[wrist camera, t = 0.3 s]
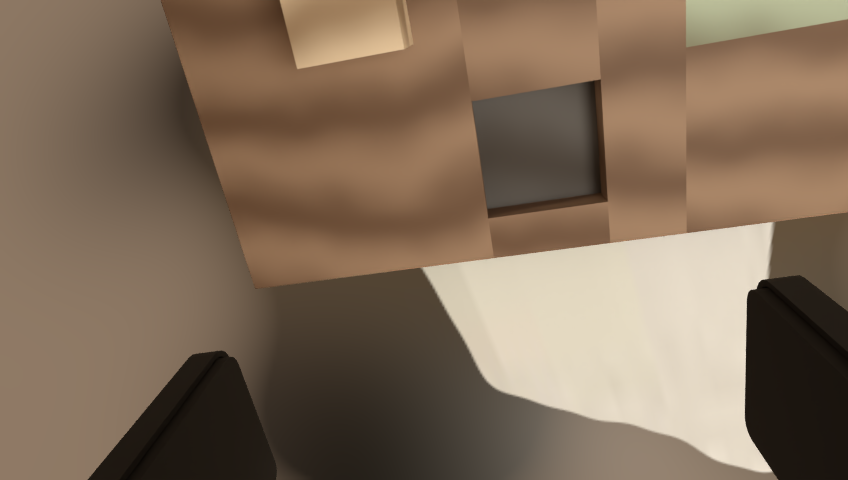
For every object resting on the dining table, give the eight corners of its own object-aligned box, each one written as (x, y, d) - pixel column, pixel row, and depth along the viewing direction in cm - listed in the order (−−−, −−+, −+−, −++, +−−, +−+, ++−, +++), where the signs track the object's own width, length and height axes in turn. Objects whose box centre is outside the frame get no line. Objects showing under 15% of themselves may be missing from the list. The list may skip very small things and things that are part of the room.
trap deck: (160, -63, 35) (138, -68, 33) (1104, -281, 28) (1162, -308, 25) (266, 274, 44) (255, 288, 41) (1005, 176, 36) (1041, 186, 34)
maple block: (295, -44, 32) (266, -53, 28) (394, -65, 32) (381, -78, 27) (320, 61, 35) (297, 69, 30) (413, 44, 34) (404, 49, 29)
